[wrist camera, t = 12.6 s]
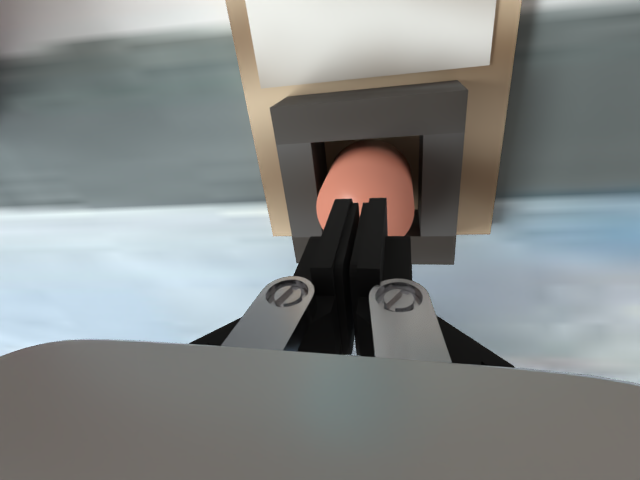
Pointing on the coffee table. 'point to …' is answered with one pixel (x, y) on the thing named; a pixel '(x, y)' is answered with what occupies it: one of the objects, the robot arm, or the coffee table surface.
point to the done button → (370, 183)
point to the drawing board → (379, 103)
